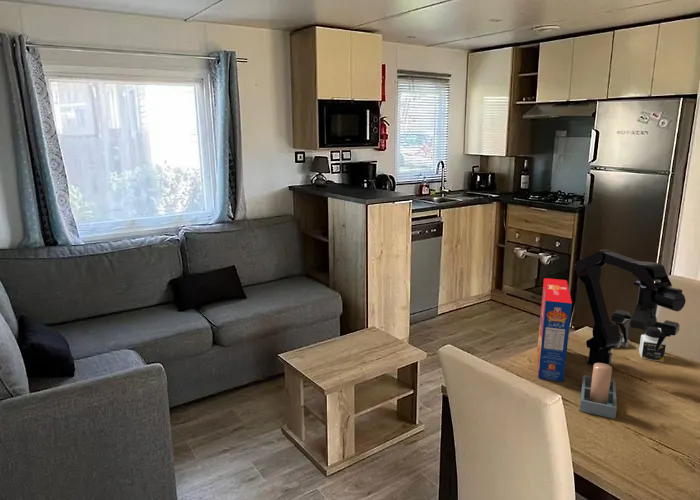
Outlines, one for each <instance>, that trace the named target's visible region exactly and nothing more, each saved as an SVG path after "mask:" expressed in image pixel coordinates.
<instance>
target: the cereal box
mask: <svg viewBox="0 0 700 500" xmlns="http://www.w3.org/2000/svg"><path fill="white" fill-rule="evenodd" d="M542 283H543V286H542V293H541V294H542V295H541V306H540V307H541V308H540V316H539V317H540V318H539V327H538V328H539V329H538V337H537V338H538V339H537V377H538V378H537V379H540V380H547V381H555V382H560V383H564V380H565V370H566V361H567V354H568V353H567V352H568V346H569V345H568V344H569V343H568V342H569V334H570V333H569V332H570V325H571V316H572V308H573V301H572V298H571V294H570V293H571V292H570V288H569V284H568V280H566V279H557V278H546V277H545V278H543V282H542Z"/></svg>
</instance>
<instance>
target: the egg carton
mask: <svg viewBox="0 0 700 500" xmlns="http://www.w3.org/2000/svg"><path fill="white" fill-rule="evenodd" d="M619 332H620V334H621V336H620V341H619V343H618V344H617V345H616V346H615V348H620V347H624V348H628V346H629V344H630V342H631V340H630V339H628V340H627V343H625V341H624V337H623V333H622V331H619Z"/></svg>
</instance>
